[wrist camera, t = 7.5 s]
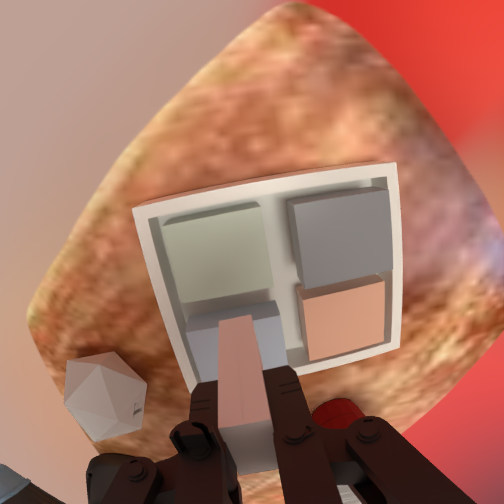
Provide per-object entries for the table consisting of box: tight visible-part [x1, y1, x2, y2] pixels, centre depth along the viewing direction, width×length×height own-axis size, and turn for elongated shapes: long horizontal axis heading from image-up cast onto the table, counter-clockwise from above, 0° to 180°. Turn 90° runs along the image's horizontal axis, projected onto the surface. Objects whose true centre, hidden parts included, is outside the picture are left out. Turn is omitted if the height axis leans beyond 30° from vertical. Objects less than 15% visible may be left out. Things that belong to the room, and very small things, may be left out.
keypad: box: [132, 161, 403, 394], centre depth 26 cm, size 20×17×4 cm
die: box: [64, 351, 147, 442], centre depth 26 cm, size 8×9×10 cm
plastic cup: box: [312, 398, 366, 504], centre depth 28 cm, size 11×11×12 cm
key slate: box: [185, 300, 288, 382], centre depth 24 cm, size 7×6×3 cm
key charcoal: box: [286, 186, 393, 289], centre depth 22 cm, size 7×6×3 cm
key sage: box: [162, 202, 274, 304], centre depth 24 cm, size 7×6×3 cm
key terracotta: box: [296, 274, 385, 361], centre depth 26 cm, size 7×6×3 cm
